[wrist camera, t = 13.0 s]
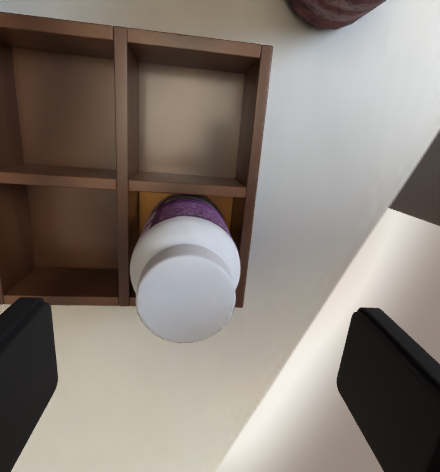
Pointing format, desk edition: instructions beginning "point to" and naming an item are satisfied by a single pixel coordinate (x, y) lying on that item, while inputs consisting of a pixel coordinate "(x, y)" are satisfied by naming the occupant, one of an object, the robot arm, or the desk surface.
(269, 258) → the desk surface
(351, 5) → the brown tumbler
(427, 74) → the desk surface
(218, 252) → the pill bottle
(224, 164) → the grid
